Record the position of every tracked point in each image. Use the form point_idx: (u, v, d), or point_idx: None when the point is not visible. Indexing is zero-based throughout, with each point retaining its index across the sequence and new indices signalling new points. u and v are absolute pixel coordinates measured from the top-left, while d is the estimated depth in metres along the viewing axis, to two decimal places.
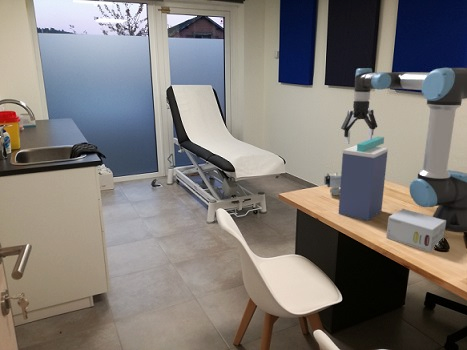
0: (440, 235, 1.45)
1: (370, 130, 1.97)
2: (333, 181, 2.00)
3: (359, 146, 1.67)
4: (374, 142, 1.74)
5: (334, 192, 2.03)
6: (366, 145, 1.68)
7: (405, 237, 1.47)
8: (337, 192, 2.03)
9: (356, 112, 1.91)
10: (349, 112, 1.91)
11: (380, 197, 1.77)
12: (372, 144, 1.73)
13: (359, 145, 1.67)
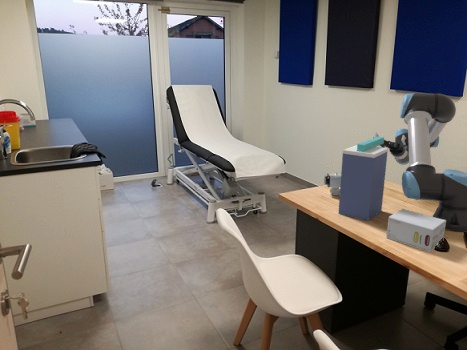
0: (440, 235, 1.45)
1: None
2: (333, 181, 2.00)
3: (359, 146, 1.67)
4: (374, 142, 1.74)
5: (334, 192, 2.03)
6: (366, 145, 1.68)
7: (406, 237, 1.47)
8: (337, 192, 2.03)
9: None
10: None
11: (380, 197, 1.77)
12: (372, 144, 1.73)
13: (359, 145, 1.67)
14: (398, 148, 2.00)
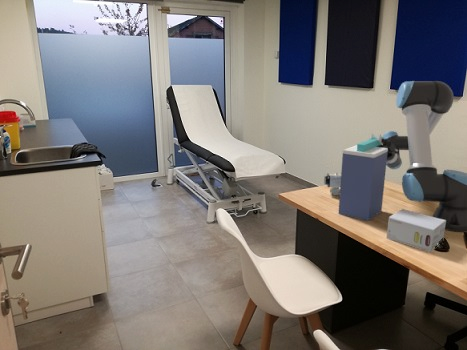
0: (440, 235, 1.45)
1: None
2: (333, 181, 2.00)
3: (359, 146, 1.67)
4: (374, 142, 1.74)
5: (334, 192, 2.03)
6: (366, 145, 1.68)
7: (406, 237, 1.46)
8: (337, 192, 2.03)
9: None
10: None
11: (380, 197, 1.77)
12: (372, 144, 1.73)
13: (359, 145, 1.67)
14: None
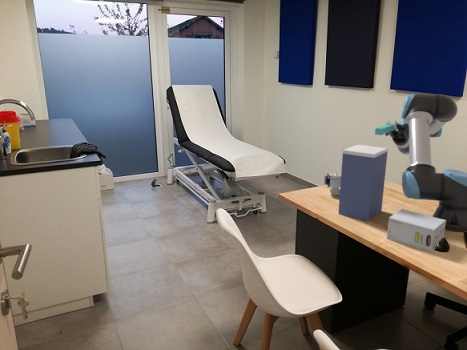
0: (440, 235, 1.45)
1: None
2: (333, 181, 2.00)
3: (377, 129, 1.82)
4: (390, 127, 1.89)
5: (334, 192, 2.03)
6: (383, 129, 1.82)
7: (406, 237, 1.46)
8: (337, 192, 2.03)
9: None
10: None
11: (380, 197, 1.77)
12: (389, 129, 1.88)
13: (377, 129, 1.82)
14: (398, 136, 2.03)
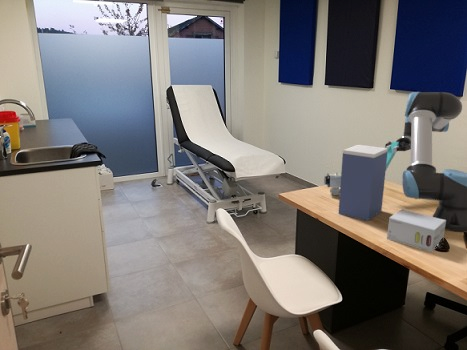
0: (440, 235, 1.46)
1: None
2: (333, 181, 2.00)
3: None
4: (390, 157, 1.96)
5: (334, 192, 2.03)
6: None
7: (407, 237, 1.46)
8: (337, 192, 2.03)
9: None
10: None
11: (380, 197, 1.77)
12: (389, 161, 1.95)
13: None
14: None
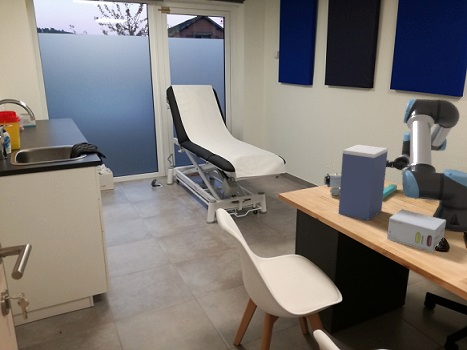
0: (441, 235, 1.46)
1: None
2: (333, 181, 2.00)
3: None
4: (389, 191, 2.03)
5: (334, 192, 2.03)
6: None
7: (407, 238, 1.46)
8: (337, 192, 2.03)
9: None
10: None
11: (380, 197, 1.77)
12: (387, 193, 2.02)
13: None
14: (401, 169, 2.10)
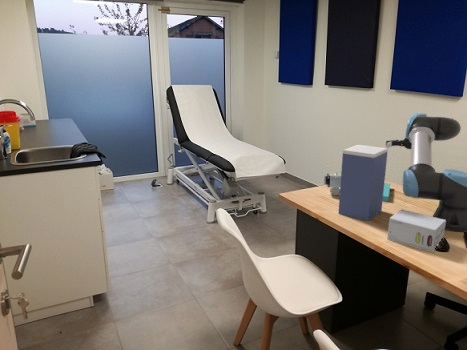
0: (441, 235, 1.46)
1: None
2: (333, 181, 2.00)
3: (384, 197, 1.94)
4: None
5: (334, 192, 2.03)
6: (388, 196, 1.95)
7: (407, 238, 1.46)
8: (337, 192, 2.03)
9: None
10: None
11: (380, 197, 1.77)
12: None
13: (384, 197, 1.94)
14: (411, 147, 2.17)
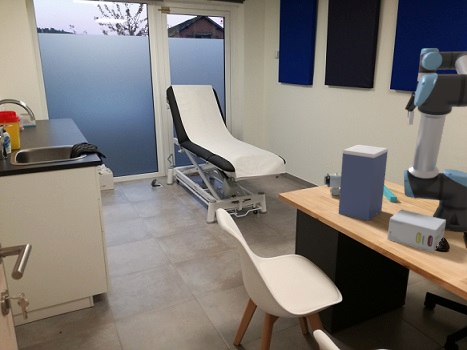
0: (441, 235, 1.46)
1: None
2: (333, 181, 2.00)
3: (392, 198, 1.93)
4: None
5: (334, 192, 2.03)
6: None
7: (408, 238, 1.46)
8: (337, 192, 2.03)
9: None
10: None
11: (380, 197, 1.77)
12: None
13: (392, 197, 1.93)
14: None
